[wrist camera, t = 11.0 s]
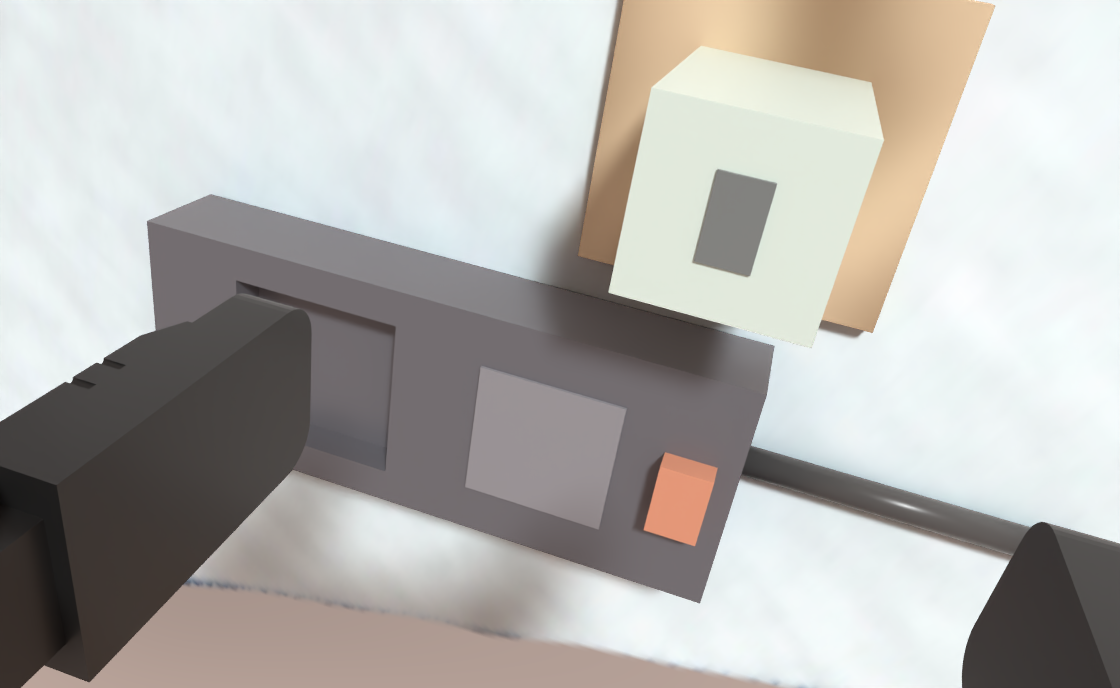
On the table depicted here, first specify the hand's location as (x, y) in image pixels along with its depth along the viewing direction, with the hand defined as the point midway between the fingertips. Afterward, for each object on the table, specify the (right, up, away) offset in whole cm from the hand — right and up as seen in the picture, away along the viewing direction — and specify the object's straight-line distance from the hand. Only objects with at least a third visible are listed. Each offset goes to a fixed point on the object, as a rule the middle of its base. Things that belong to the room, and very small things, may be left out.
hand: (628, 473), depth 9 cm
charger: (+5, +7, +14) cm, 16 cm away
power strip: (+1, -1, +20) cm, 20 cm away
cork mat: (+5, +7, +14) cm, 17 cm away
